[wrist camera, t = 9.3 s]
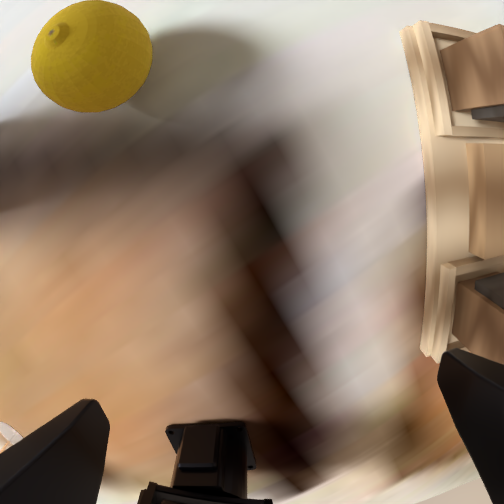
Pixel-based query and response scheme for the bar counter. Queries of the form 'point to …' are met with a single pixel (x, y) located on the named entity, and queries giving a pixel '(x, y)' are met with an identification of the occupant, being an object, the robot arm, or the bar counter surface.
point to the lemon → (91, 56)
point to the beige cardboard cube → (477, 74)
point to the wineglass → (9, 435)
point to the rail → (458, 207)
